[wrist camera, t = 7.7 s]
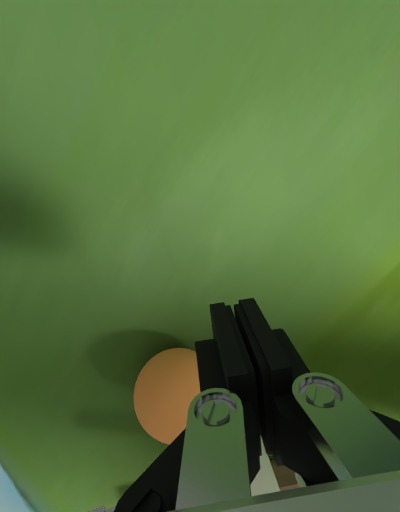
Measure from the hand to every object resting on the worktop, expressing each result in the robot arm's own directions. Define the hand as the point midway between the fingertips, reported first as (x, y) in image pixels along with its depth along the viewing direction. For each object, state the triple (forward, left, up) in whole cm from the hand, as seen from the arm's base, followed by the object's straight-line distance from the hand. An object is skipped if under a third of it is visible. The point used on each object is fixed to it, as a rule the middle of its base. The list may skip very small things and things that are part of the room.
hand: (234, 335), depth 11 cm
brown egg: (-6, +7, -7) cm, 12 cm away
